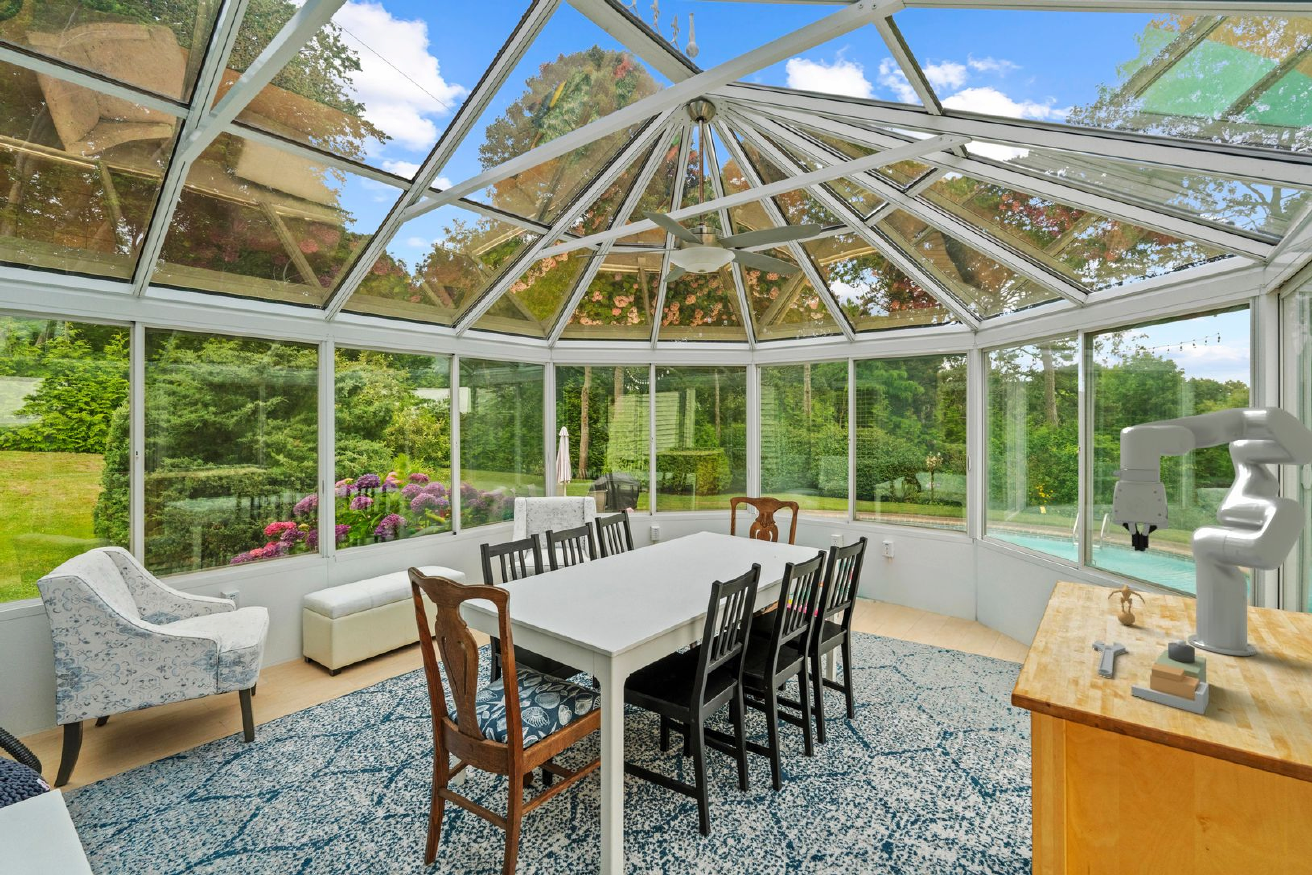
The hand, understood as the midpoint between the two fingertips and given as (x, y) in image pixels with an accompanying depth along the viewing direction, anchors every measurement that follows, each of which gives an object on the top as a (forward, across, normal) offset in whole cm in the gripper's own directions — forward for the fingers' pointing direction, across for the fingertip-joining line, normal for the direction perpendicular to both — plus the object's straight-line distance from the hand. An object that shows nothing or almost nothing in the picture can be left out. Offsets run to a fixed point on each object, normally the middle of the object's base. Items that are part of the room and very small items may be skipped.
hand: (1140, 550), depth 142 cm
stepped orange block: (+27, +9, -22) cm, 36 cm away
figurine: (+27, -8, +28) cm, 40 cm away
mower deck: (+27, +9, -16) cm, 33 cm away
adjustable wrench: (+28, -6, -7) cm, 29 cm away
